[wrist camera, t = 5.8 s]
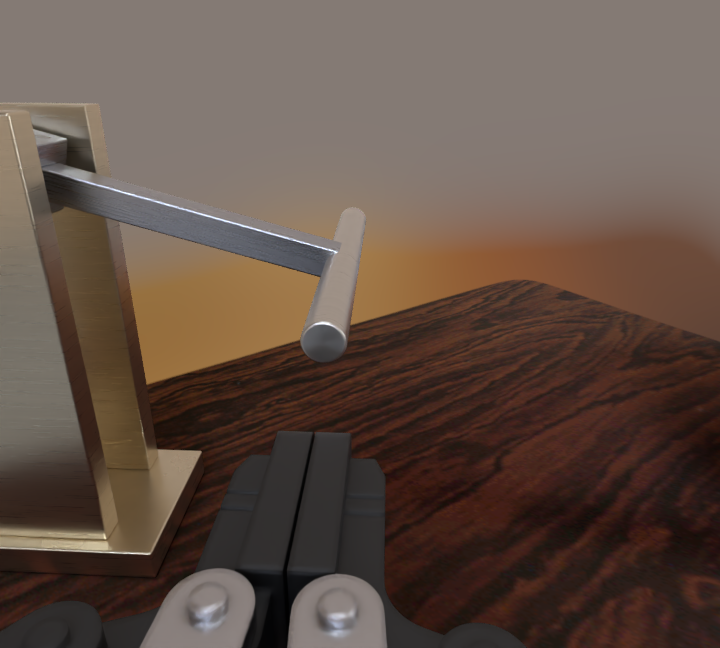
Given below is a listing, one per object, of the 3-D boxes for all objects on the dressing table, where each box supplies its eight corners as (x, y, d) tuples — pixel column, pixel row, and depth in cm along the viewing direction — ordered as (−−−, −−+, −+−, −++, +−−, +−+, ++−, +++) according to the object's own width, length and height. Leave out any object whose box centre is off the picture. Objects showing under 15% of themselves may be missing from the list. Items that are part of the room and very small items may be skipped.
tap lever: (357, 249, 24) (373, 195, 23) (333, 393, 13) (360, 303, 12) (59, 165, 23) (62, 106, 22) (-231, 245, 12) (-251, 135, 11)
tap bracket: (205, 471, 26) (157, 103, 19) (155, 578, 20) (66, 114, 14) (35, 465, 26) (-67, 100, 20) (-59, 569, 21) (-244, 110, 14)
